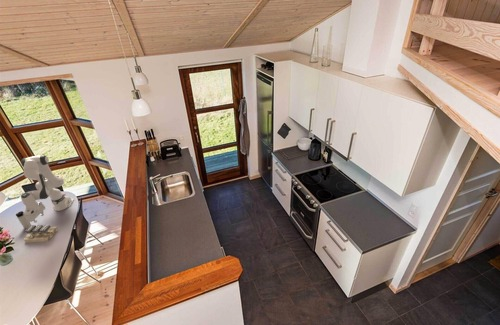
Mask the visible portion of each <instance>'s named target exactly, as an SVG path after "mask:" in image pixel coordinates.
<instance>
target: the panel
mask: <svg viewBox="0 0 500 325" xmlns="http://www.w3.org/2000/svg"><path fill="white" fill-rule="evenodd" d="M57 231H58V226H51V227H50V228H49V229H48V232H49V233H40V234H39V233H34V234H32V233H27V235H26V236H25V237H24V238H23V241H24V242H25V243H42V242H44V243H45V242H49V241H50V240H51V239H52V237H53V236H54V235H55V234H56V233H57ZM30 235H33V236H34V238H33V239H31V238H30ZM50 238H51V239H50ZM49 239H50V240H49Z"/></svg>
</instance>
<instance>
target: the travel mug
mask: <svg viewBox="0 0 500 325" xmlns="http://www.w3.org/2000/svg"><path fill="white" fill-rule="evenodd" d="M24 212H25V211H23V210H21V211H19V212H17V213H16V214H15V216H16V218H17V219H18V221H19V223H20V224H21V226H22V227H23V229H24V230H27V229H28V228H29V227H30V226H31V225H32V224H31V222H27V220H26V218H25V215H23V213H24Z"/></svg>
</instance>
